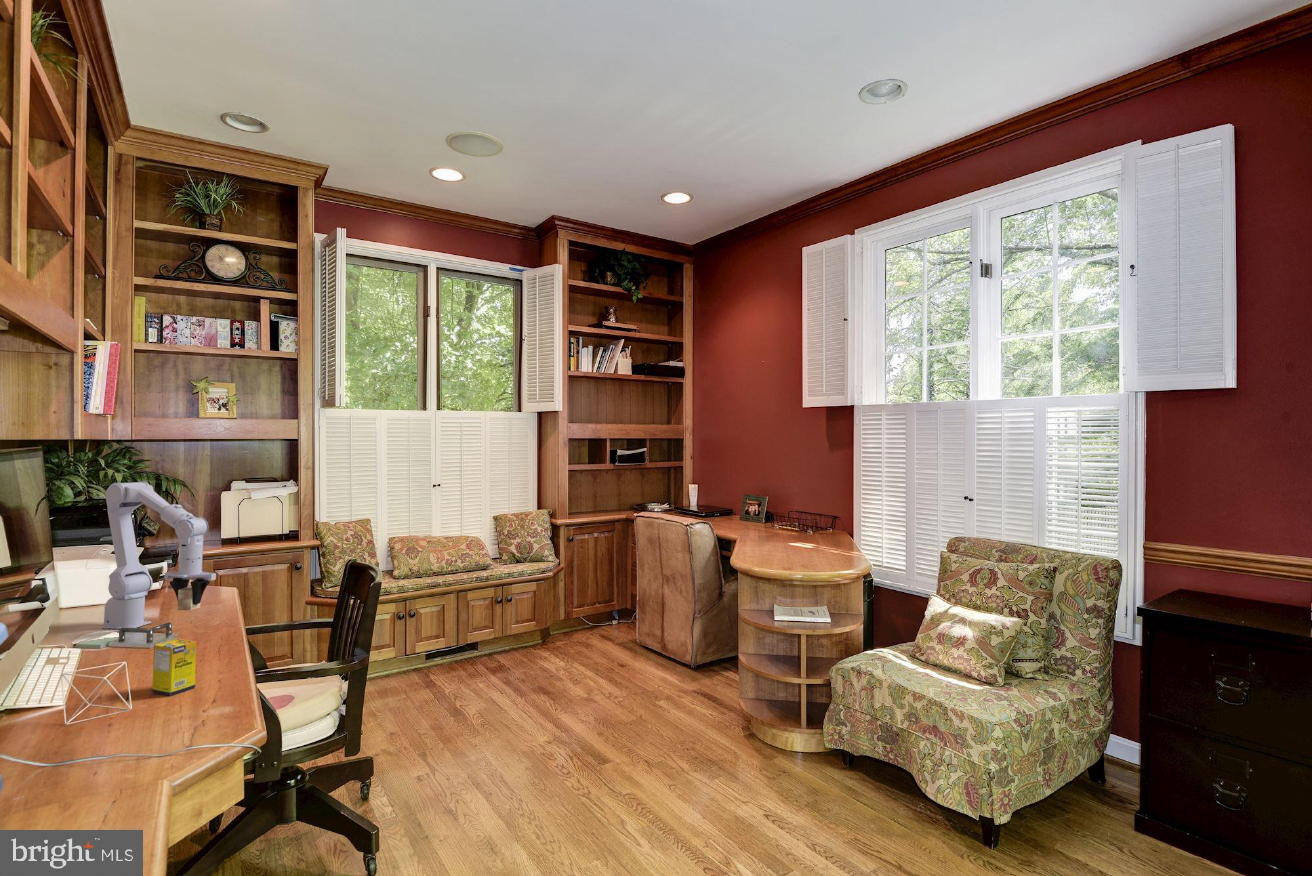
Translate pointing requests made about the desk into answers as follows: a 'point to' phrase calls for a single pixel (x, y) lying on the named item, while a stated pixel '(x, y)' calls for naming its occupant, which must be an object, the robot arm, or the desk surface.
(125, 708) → the geometric polyhedron
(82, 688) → the desk surface
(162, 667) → the supplement box
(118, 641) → the beige flat handled piece
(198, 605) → the maple block
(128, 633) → the pad
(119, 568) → the robot arm
